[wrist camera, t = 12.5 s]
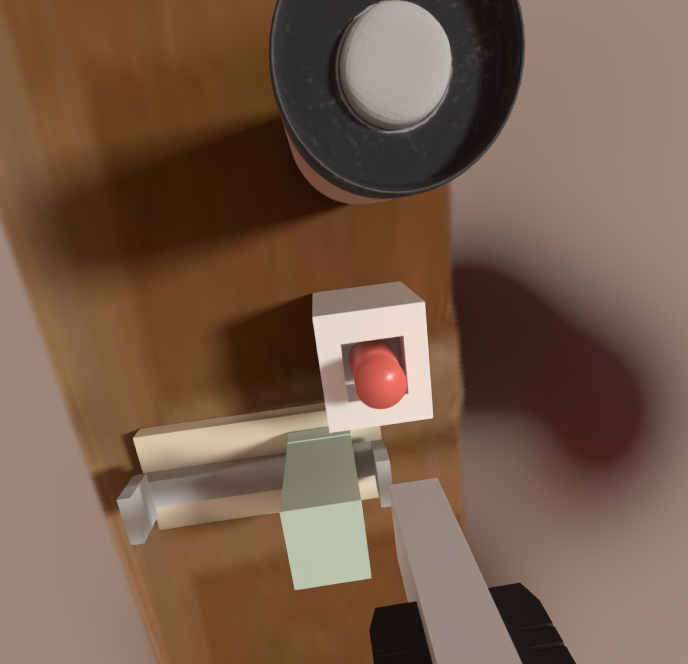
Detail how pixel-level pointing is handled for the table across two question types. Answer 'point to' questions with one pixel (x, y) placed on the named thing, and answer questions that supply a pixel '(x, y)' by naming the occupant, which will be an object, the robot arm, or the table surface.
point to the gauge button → (377, 374)
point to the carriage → (323, 510)
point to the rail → (232, 447)
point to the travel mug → (393, 89)
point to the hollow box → (364, 325)
